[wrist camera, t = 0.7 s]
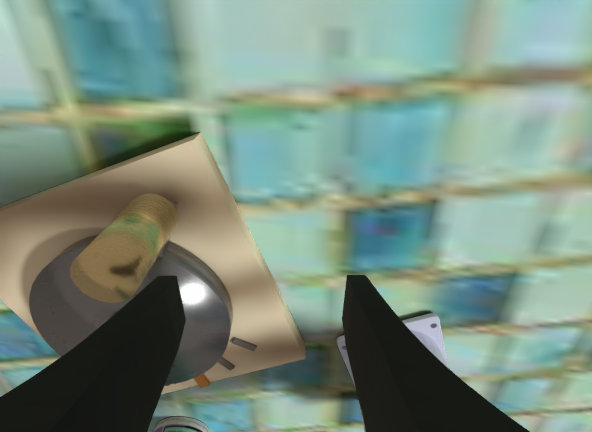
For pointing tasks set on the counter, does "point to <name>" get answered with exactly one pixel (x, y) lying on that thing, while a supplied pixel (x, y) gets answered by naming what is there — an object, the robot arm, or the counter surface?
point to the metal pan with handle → (133, 286)
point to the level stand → (187, 234)
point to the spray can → (180, 425)
